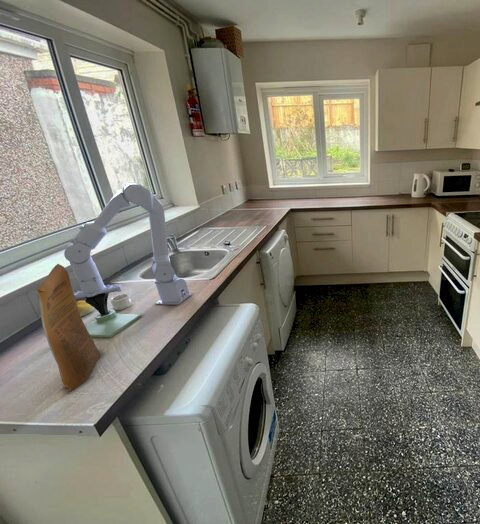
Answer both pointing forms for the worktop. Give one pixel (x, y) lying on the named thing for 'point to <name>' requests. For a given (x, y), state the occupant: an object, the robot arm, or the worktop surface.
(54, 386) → the worktop surface
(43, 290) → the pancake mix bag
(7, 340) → the worktop surface
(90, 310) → the bread roll
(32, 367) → the worktop surface
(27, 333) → the worktop surface
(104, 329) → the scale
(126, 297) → the cup
